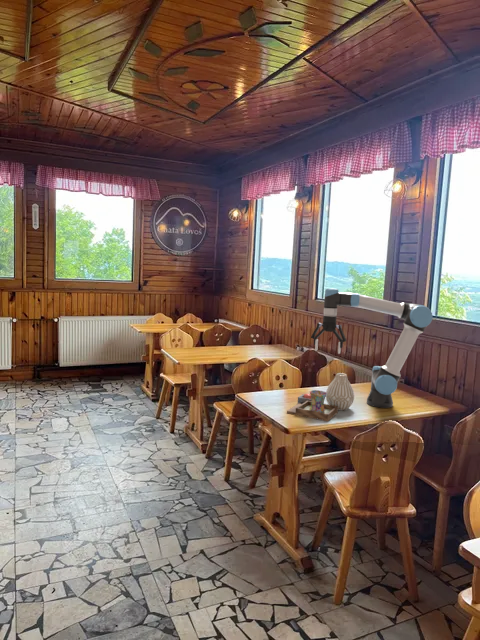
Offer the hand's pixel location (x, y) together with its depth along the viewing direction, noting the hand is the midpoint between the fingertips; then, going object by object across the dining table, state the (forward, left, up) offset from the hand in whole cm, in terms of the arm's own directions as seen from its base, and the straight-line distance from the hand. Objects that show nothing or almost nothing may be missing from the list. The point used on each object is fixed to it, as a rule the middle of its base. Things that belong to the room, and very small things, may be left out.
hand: (327, 352), depth 270 cm
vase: (-10, +1, -32) cm, 33 cm away
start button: (+8, +4, -30) cm, 31 cm away
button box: (+8, +4, -31) cm, 33 cm away
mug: (-2, +19, -30) cm, 36 cm away
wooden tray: (0, +20, -31) cm, 37 cm away
